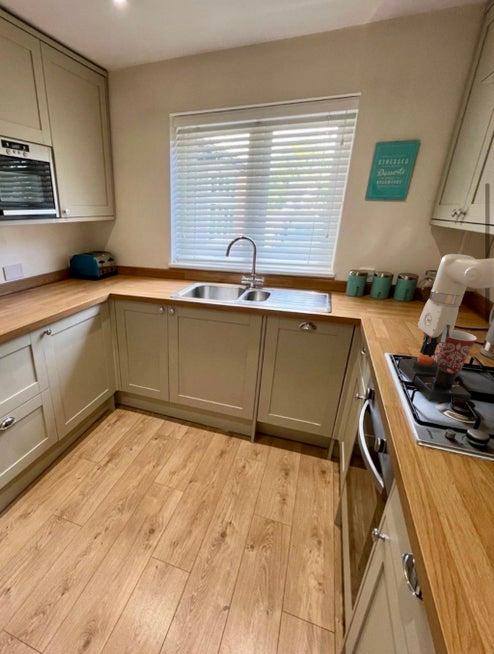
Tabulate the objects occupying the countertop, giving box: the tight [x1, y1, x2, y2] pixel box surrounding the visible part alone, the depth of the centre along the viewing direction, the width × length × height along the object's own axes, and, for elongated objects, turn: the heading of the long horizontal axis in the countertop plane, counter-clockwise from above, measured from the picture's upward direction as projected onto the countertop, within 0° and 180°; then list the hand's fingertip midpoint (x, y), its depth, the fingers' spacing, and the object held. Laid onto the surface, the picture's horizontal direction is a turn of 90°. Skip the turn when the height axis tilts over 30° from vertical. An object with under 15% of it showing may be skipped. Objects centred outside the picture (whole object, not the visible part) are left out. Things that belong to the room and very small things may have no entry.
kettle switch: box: [417, 354, 434, 365], centre depth 104 cm, size 4×4×2 cm
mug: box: [433, 329, 478, 378], centre depth 107 cm, size 13×9×14 cm
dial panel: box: [412, 376, 472, 404], centre depth 96 cm, size 10×9×3 cm
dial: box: [433, 366, 457, 389], centre depth 94 cm, size 4×4×5 cm
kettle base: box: [398, 356, 438, 383], centre depth 105 cm, size 9×10×5 cm
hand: (426, 354), depth 104 cm, fingers closed
